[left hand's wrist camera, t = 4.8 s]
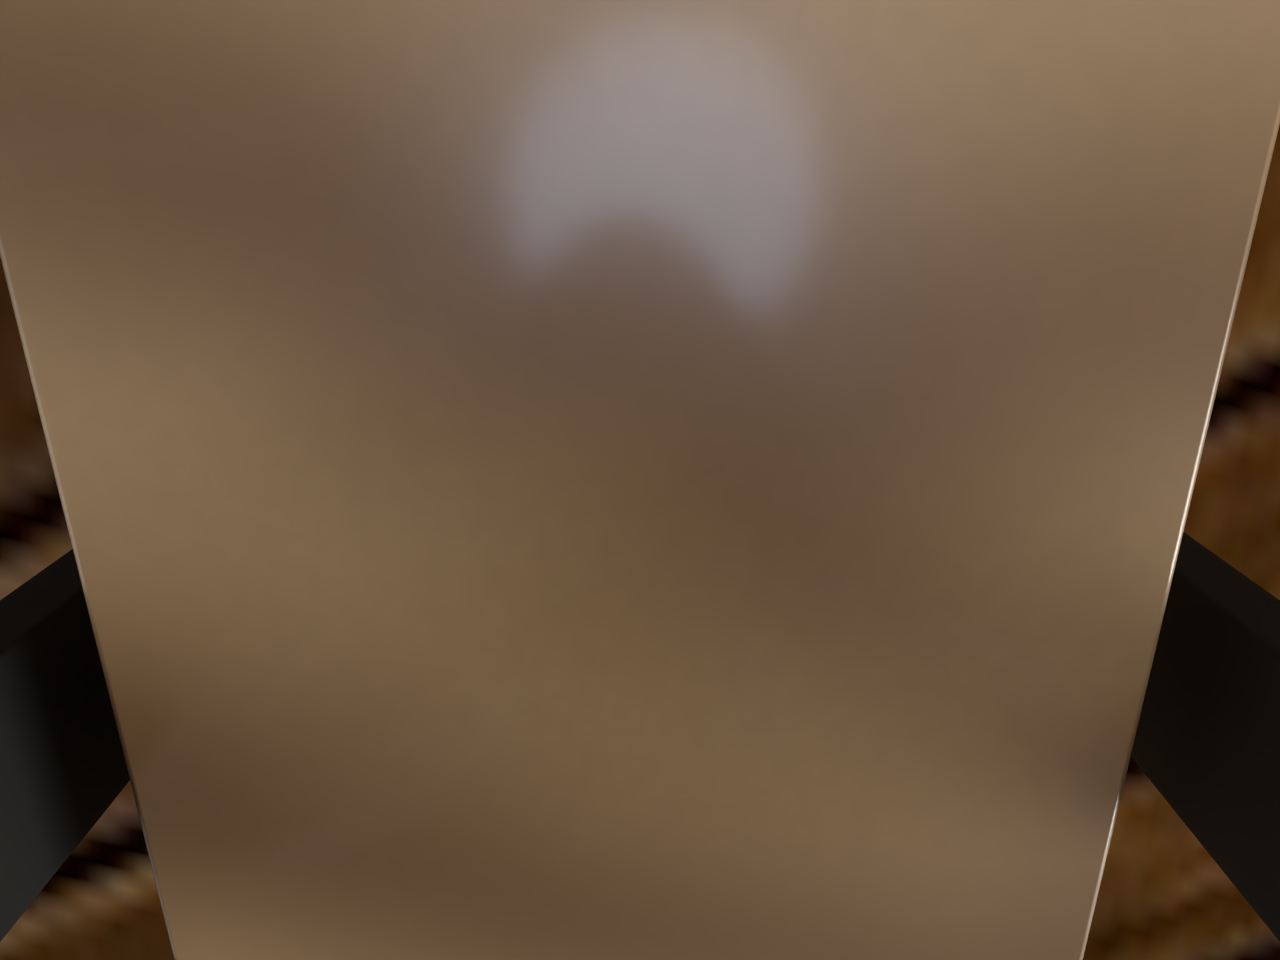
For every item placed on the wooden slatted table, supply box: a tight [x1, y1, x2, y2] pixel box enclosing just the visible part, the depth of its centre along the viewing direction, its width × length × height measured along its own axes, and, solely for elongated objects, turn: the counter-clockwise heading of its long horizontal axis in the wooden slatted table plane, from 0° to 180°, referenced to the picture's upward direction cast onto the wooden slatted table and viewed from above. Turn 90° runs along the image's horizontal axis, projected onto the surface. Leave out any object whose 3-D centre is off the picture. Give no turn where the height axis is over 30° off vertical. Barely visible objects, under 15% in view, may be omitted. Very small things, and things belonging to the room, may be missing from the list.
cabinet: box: [0, 0, 1280, 960], centre depth 12 cm, size 18×10×11 cm, turn 0°
